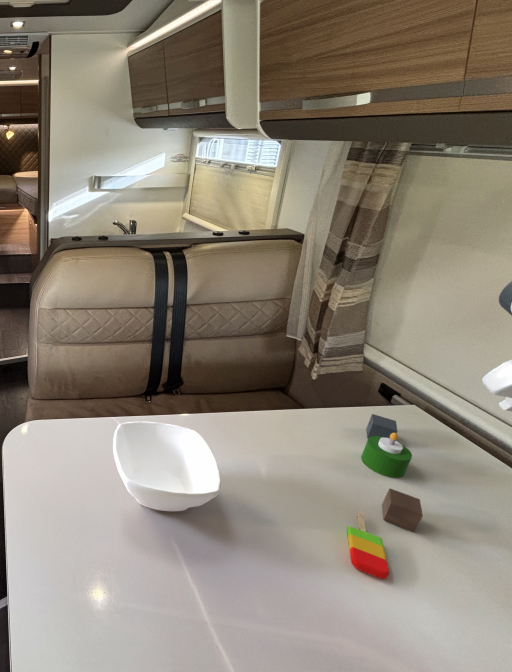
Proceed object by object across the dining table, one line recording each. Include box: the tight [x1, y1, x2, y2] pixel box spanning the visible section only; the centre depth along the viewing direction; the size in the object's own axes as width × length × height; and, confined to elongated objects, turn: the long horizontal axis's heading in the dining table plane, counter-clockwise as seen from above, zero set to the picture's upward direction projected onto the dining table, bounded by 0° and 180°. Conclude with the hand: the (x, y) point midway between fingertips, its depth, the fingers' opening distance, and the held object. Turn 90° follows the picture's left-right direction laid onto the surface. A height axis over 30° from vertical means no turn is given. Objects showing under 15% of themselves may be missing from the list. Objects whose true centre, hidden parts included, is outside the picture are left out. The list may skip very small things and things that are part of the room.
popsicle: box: [346, 512, 390, 580], centre depth 86 cm, size 6×15×2 cm, turn 148°
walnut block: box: [381, 488, 424, 533], centre depth 91 cm, size 5×5×5 cm
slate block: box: [366, 413, 398, 440], centre depth 114 cm, size 5×5×5 cm
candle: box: [360, 433, 413, 479], centre depth 104 cm, size 8×8×10 cm
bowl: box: [112, 420, 222, 512], centre depth 97 cm, size 22×22×12 cm
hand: (506, 408), depth 91 cm, fingers closed
